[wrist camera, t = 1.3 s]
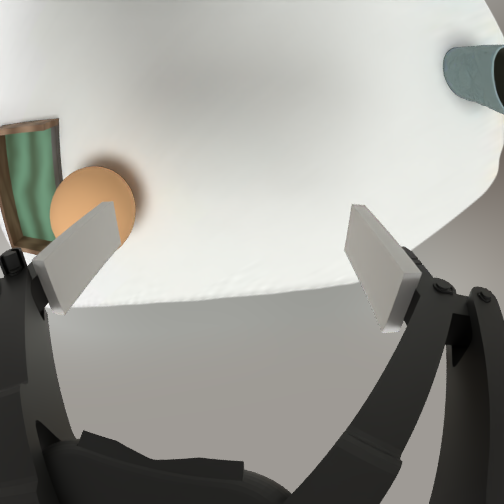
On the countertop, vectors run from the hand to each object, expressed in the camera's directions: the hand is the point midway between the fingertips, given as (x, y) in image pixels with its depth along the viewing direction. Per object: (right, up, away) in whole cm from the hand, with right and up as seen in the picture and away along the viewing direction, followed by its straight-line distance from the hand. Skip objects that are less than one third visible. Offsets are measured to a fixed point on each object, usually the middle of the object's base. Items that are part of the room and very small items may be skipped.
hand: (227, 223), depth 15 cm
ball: (-21, +4, +20) cm, 29 cm away
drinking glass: (+33, +26, +11) cm, 44 cm away
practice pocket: (-38, +10, +24) cm, 46 cm away
